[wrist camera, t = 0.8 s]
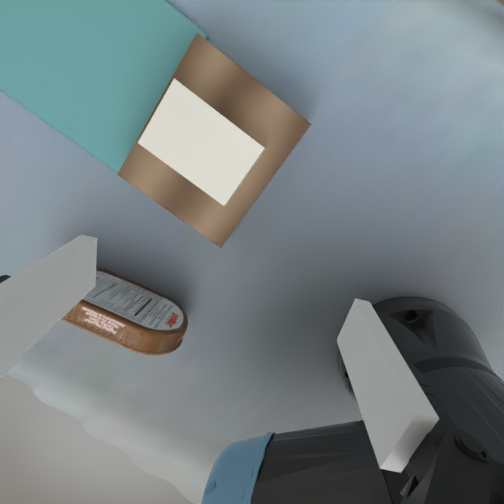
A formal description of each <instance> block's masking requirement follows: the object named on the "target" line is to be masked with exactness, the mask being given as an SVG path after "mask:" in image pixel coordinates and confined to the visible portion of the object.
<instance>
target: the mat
mask: <svg viewBox="0 0 504 504" xmlns="http://www.w3.org/2000/svg"><path fill="white" fill-rule="evenodd" d="M196 33H198V34H199V35H201V36H202V37H203V38H204V39H206V40H207V39H208V35H207V34H206V33H205V32H204V31H203V30H201V29H200V28H199V27H198V26H196V25H195V24H194V23H193V22H191V21H190V20H189V19H188V18H186V17H185V16H184V15H183V14H181V13H180V12H179V11H178V10H176V9H175V8H174V7H173V6H171V5H170V4H169V3H168V2H166V1H165V0H0V90H1V91H3V92H4V93H6V94H7V95H8V96H10V97H11V98H13V99H14V100H16V101H17V102H18V103H20V104H21V105H23V106H24V107H25V108H27V109H28V110H30V111H31V112H32V113H34V114H35V115H37V116H38V117H39V118H41V119H42V120H44V121H45V122H46V123H48V124H49V125H51V126H52V127H53V128H55V129H56V130H58V131H59V132H60V133H62V134H63V135H65V136H66V137H67V138H69V139H70V140H72V141H73V142H74V143H76V144H77V145H79V146H80V147H81V148H83V149H84V150H86V151H87V152H88V153H90V154H91V155H93V156H94V157H96V158H97V159H98V160H100V161H101V162H103V163H104V164H105V165H107V166H108V167H110V168H111V169H112V170H114V171H115V172H117V173H118V172H119V170H120V169H121V167H122V165H123V163H124V162H125V160H126V158H127V156H128V154H129V153H130V151H131V149H132V147H133V146H134V144H135V142H136V140H137V138H138V137H139V135H140V133H141V131H142V130H143V128H144V126H145V124H146V122H147V121H148V119H149V117H150V115H151V114H152V112H153V110H154V108H155V106H156V105H157V103H158V101H159V99H160V98H161V96H162V94H163V92H164V90H165V89H166V87H167V85H168V83H169V82H170V80H171V78H172V76H173V74H174V73H175V71H176V69H177V67H178V65H179V64H180V62H181V60H182V58H183V57H184V55H185V53H186V51H187V49H188V48H189V46H190V44H191V42H192V41H193V39H194V37H195V35H196Z"/></svg>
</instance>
